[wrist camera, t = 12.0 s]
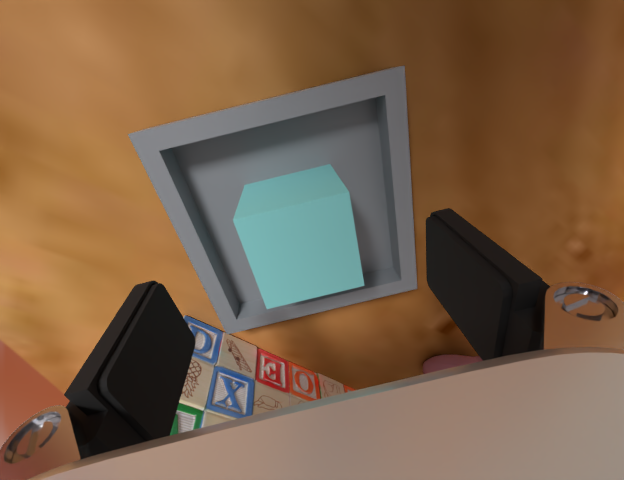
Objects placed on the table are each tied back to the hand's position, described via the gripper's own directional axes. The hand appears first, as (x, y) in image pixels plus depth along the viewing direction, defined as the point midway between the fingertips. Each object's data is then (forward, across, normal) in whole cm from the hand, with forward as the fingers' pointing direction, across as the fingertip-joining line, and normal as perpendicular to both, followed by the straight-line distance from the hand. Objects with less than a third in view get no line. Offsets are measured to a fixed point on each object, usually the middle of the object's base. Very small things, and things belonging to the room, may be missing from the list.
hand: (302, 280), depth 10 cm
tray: (+8, 0, +1) cm, 8 cm away
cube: (+8, 0, +1) cm, 8 cm away
